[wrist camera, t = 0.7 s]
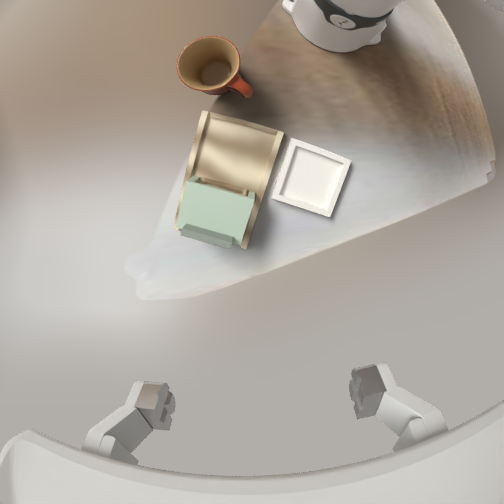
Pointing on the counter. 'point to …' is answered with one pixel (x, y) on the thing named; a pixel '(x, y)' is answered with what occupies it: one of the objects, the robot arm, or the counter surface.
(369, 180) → the counter surface
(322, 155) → the dish
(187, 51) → the mug
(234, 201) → the green stool
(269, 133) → the board
